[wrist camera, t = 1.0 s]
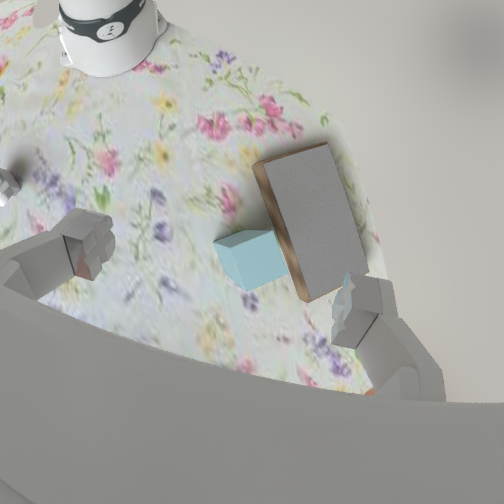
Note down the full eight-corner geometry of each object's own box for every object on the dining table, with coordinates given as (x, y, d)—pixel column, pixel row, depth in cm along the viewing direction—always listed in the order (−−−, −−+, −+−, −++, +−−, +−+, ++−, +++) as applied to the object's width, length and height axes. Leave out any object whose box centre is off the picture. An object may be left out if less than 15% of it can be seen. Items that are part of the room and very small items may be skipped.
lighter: (2, 178, 37) (-23, 171, 29) (9, 170, 37) (-15, 162, 30) (23, 210, 39) (-1, 207, 31) (30, 202, 39) (7, 198, 31)
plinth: (251, 166, 47) (258, 161, 43) (318, 146, 49) (329, 140, 46) (299, 298, 50) (309, 304, 47) (358, 269, 53) (372, 272, 49)
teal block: (212, 242, 46) (229, 248, 33) (244, 229, 47) (273, 230, 34) (225, 273, 47) (246, 291, 34) (255, 260, 48) (288, 273, 35)
